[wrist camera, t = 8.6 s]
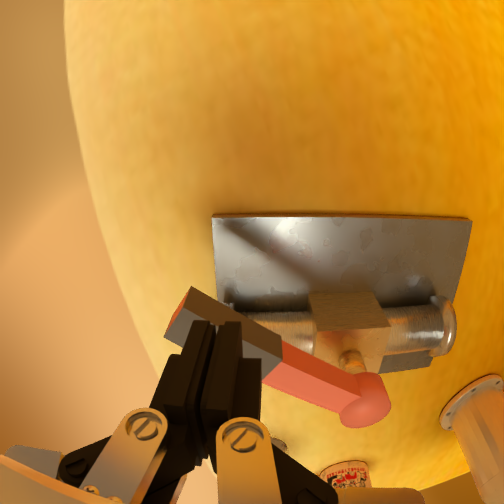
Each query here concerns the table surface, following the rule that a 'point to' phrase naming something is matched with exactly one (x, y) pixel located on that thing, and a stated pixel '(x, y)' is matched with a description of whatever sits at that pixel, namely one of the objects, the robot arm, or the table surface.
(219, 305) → the lever
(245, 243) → the valve
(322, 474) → the teacup with lid
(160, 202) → the table surface
